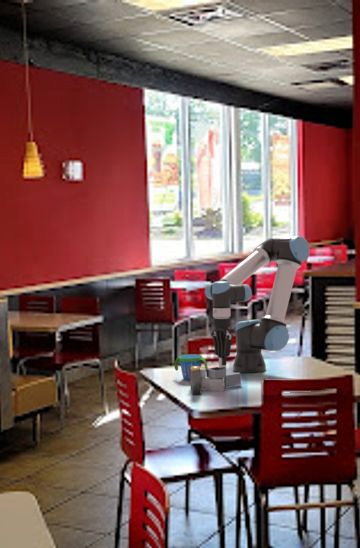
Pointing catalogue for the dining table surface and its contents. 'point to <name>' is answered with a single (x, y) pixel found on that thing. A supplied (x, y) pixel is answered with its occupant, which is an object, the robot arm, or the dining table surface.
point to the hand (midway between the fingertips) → (222, 372)
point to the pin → (196, 380)
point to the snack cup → (189, 364)
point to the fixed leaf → (211, 382)
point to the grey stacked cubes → (224, 376)
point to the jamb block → (191, 376)
